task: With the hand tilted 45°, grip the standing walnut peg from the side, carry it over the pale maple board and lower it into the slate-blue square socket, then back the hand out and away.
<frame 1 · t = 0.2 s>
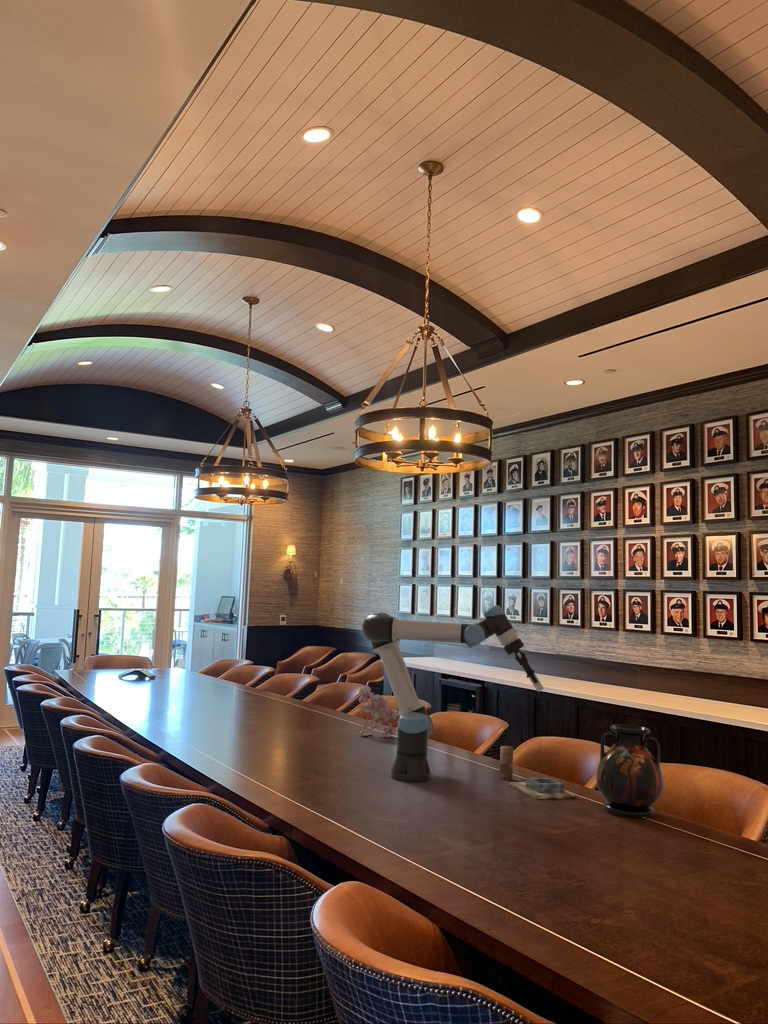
hand: (540, 689, 303), 35 cm above the table, tool tilted 35°, fingers open, 13 cm apart
amphora vase: (628, 813, 259), on the table
flower: (379, 736, 384), on the table
maple board: (541, 791, 283), on the table
walnut peg: (505, 778, 302), on the table
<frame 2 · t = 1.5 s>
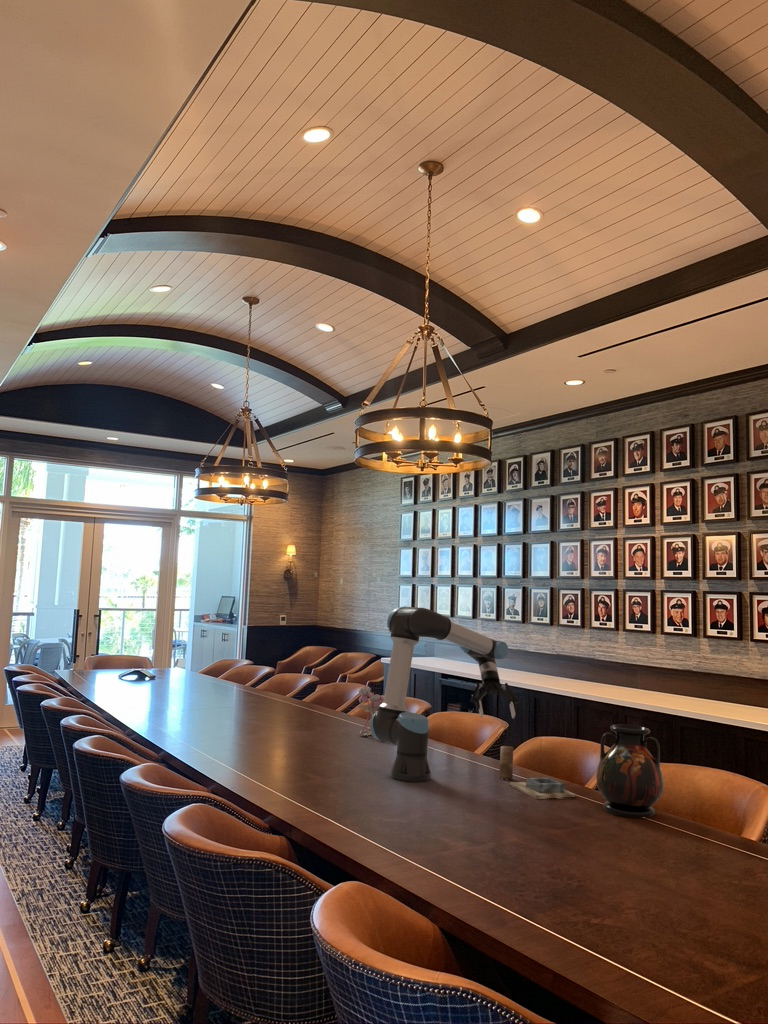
hand: (497, 715, 319), 22 cm above the table, tool tilted 45°, fingers open, 13 cm apart
nothing on the table moved.
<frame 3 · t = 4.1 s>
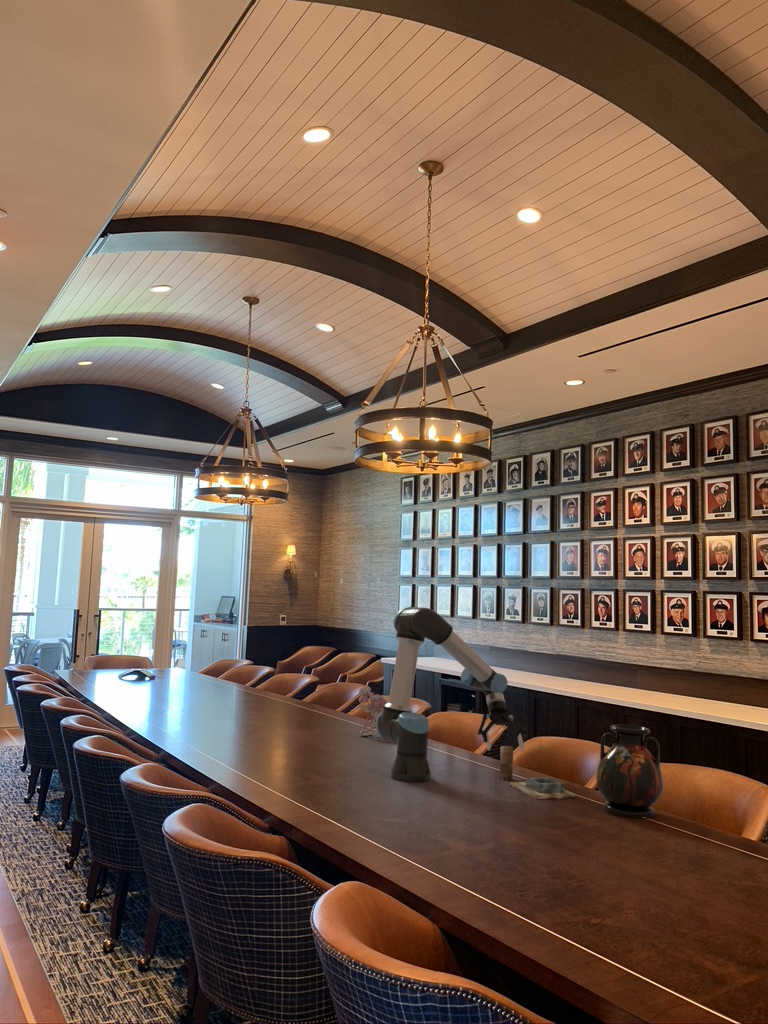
hand: (506, 749, 309), 10 cm above the table, tool tilted 45°, fingers open, 13 cm apart
nothing on the table moved.
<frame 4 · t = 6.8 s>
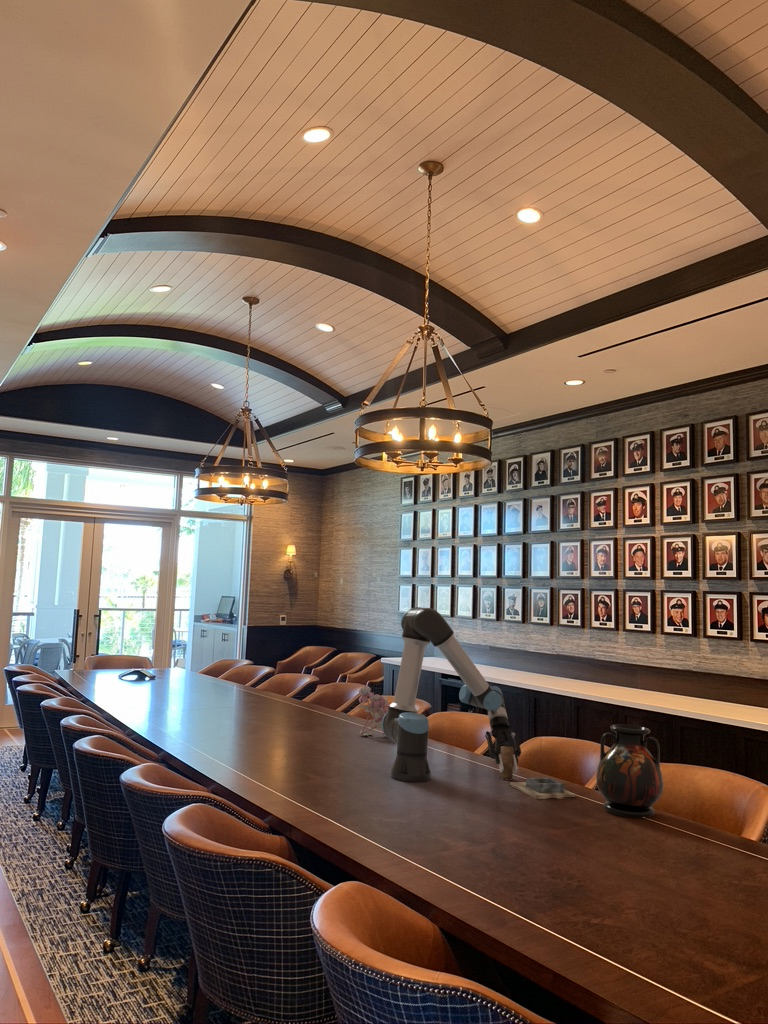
hand: (509, 770, 299), 4 cm above the table, tool tilted 45°, fingers closed on walnut peg, 5 cm apart
walnut peg: (505, 778, 302), on the table, touching gripper
everything else where it was.
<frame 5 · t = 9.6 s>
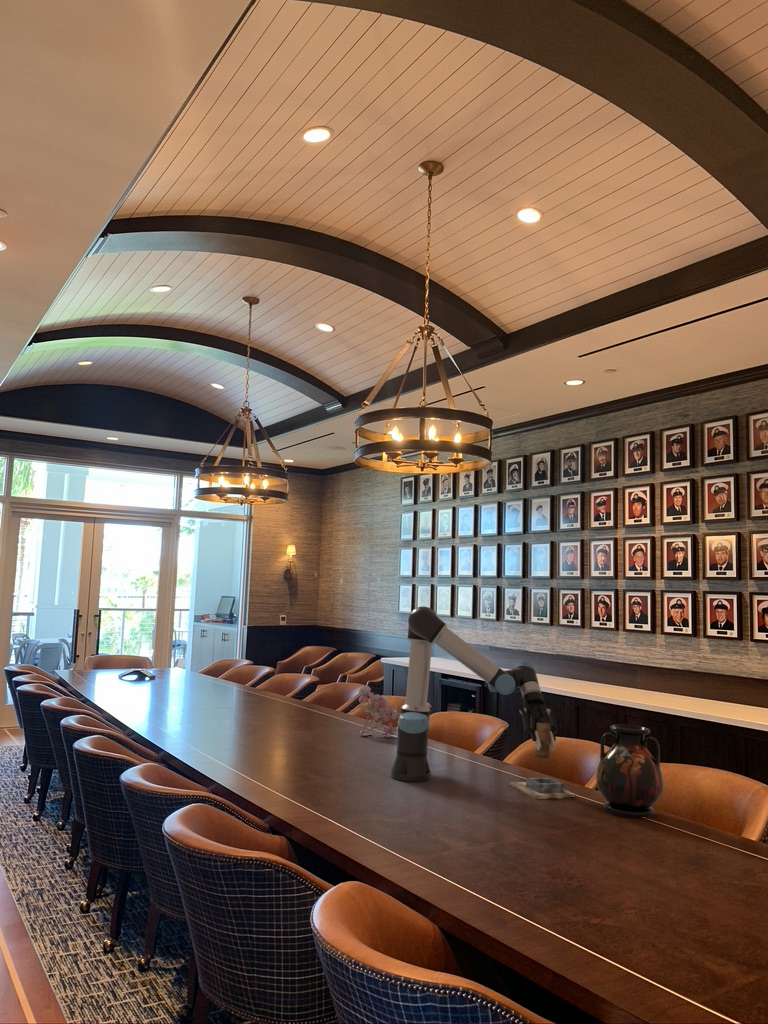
hand: (546, 748, 284), 16 cm above the table, tool tilted 45°, fingers closed on walnut peg, 5 cm apart
walnut peg: (542, 756, 287), point 12 cm above the table, touching gripper
everything else where it was.
when the fingers open (6 cm above the table, at t = 12.6 s): walnut peg stays where it is, resting on maple board.
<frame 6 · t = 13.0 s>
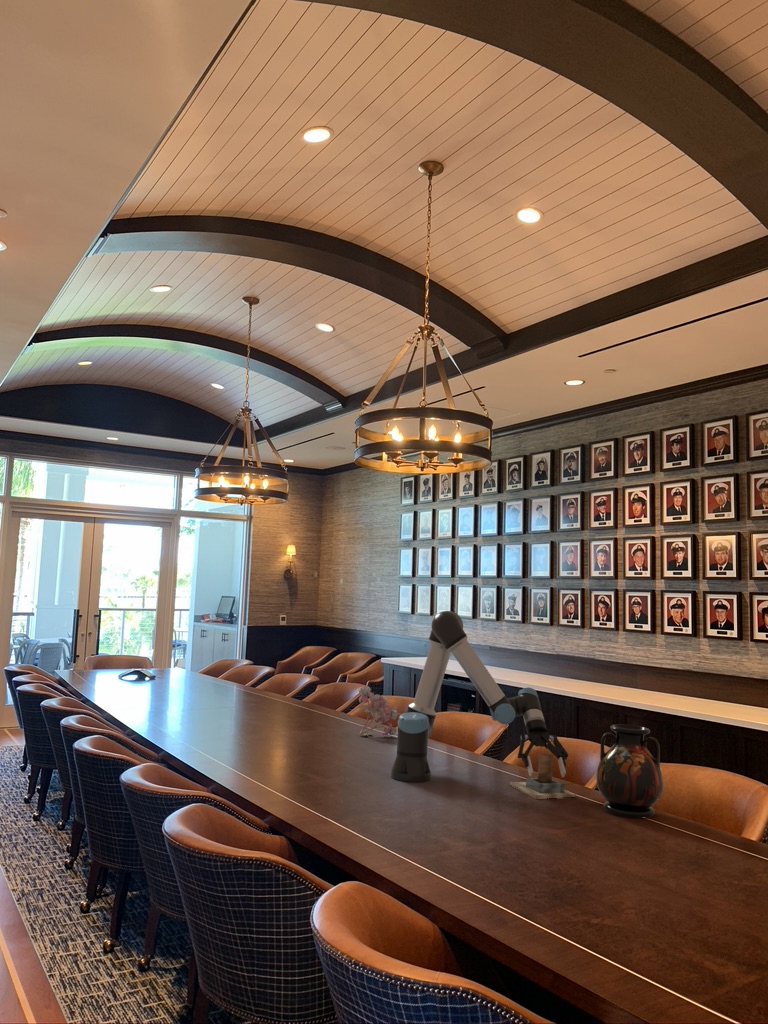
hand: (547, 774, 280), 7 cm above the table, tool tilted 45°, fingers open, 11 cm apart
walnut peg: (544, 789, 282), point 1 cm above the table, touching maple board
everything else where it was.
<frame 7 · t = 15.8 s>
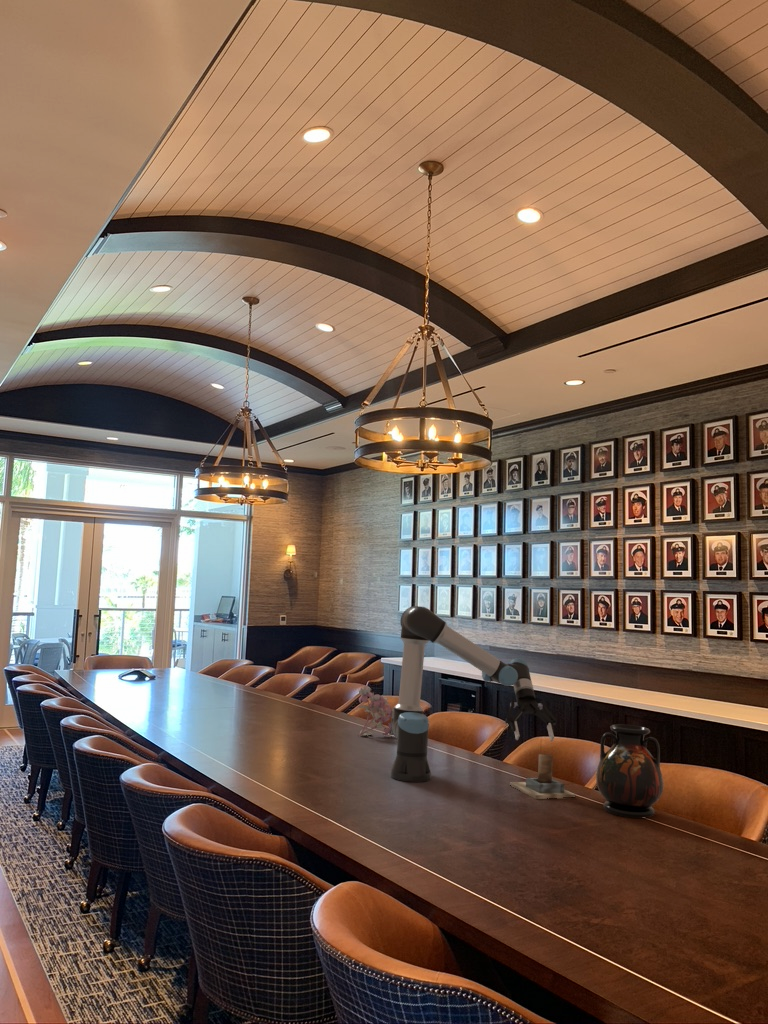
hand: (535, 738, 294), 17 cm above the table, tool tilted 45°, fingers open, 13 cm apart
nothing on the table moved.
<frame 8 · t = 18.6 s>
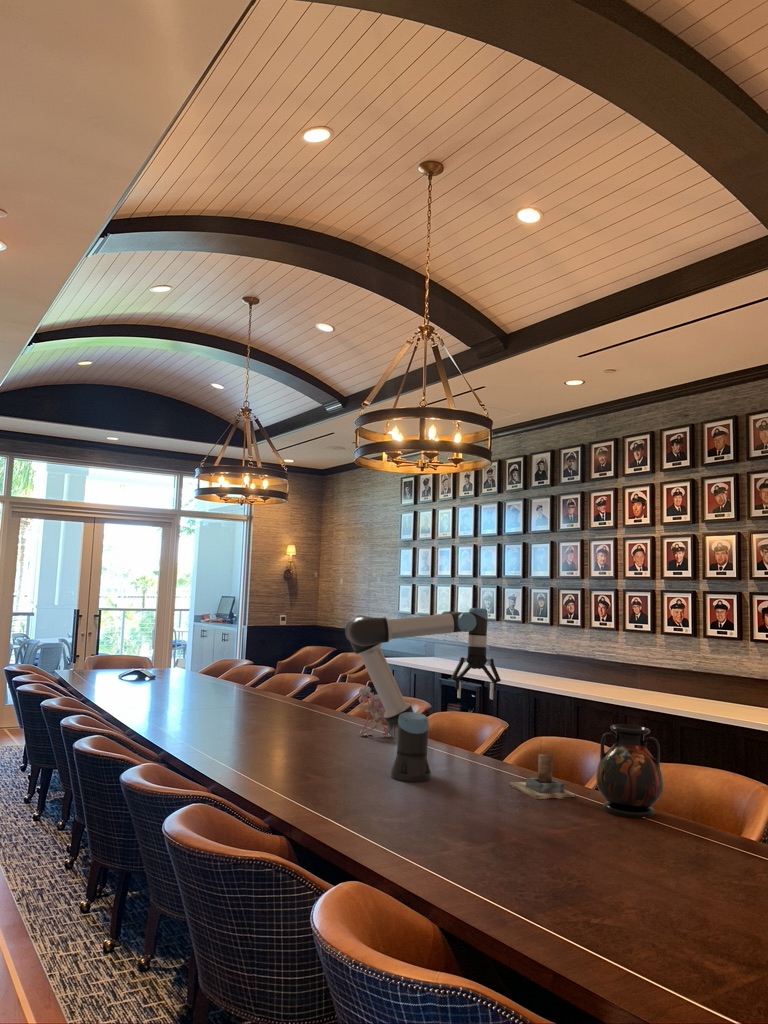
hand: (475, 698, 316), 29 cm above the table, tool pointing down, fingers open, 13 cm apart
nothing on the table moved.
at the end: walnut peg 0.1 cm from the target spot on the maple board, point 1.2 cm above the maple board's base; walnut peg tilted 0°; the gripper is holding nothing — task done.
